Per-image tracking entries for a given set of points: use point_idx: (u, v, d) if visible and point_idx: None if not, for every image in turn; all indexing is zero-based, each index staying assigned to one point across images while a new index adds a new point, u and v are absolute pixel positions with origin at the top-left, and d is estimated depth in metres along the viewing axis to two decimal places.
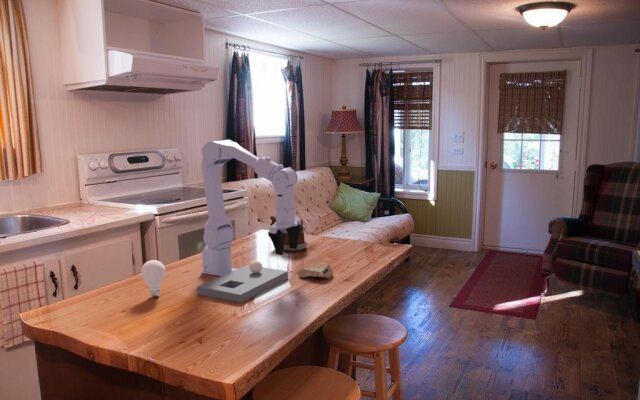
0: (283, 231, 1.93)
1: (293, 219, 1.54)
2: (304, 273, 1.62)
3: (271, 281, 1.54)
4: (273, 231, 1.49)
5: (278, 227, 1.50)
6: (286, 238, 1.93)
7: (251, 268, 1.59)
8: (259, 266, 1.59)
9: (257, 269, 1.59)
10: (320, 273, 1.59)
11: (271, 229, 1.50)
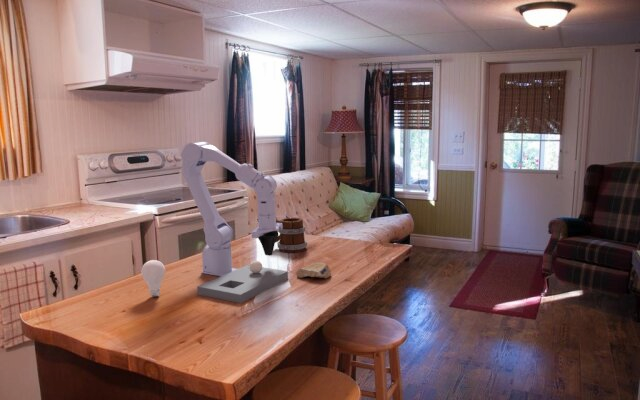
0: (283, 231, 1.93)
1: (274, 224, 1.63)
2: (302, 273, 1.62)
3: (271, 281, 1.54)
4: (255, 236, 1.58)
5: (260, 232, 1.59)
6: (286, 238, 1.93)
7: (251, 268, 1.59)
8: (259, 266, 1.59)
9: (257, 269, 1.59)
10: (318, 273, 1.59)
11: (253, 234, 1.59)
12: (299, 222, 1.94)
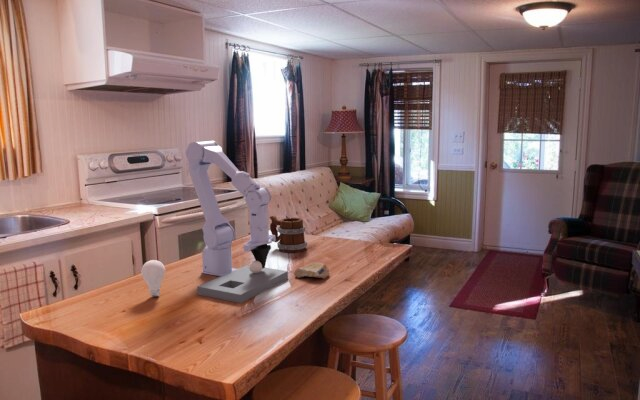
0: (283, 231, 1.93)
1: (267, 237, 1.60)
2: (300, 273, 1.62)
3: (271, 281, 1.54)
4: (247, 249, 1.55)
5: (252, 245, 1.56)
6: (286, 238, 1.93)
7: (251, 268, 1.59)
8: (259, 267, 1.59)
9: (257, 270, 1.59)
10: (315, 273, 1.59)
11: (245, 247, 1.55)
12: (299, 222, 1.94)
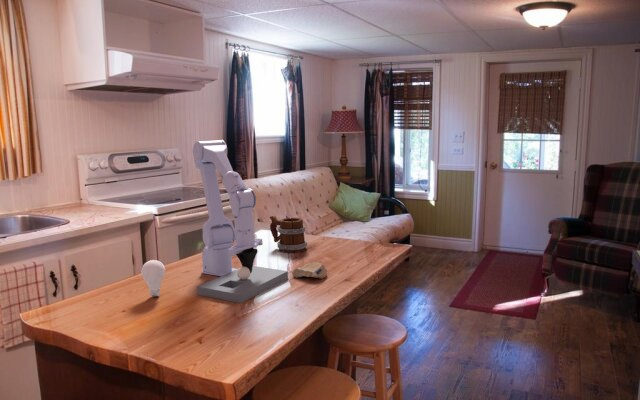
0: (283, 231, 1.93)
1: (253, 240, 1.53)
2: (298, 273, 1.62)
3: (271, 281, 1.54)
4: (232, 253, 1.48)
5: (237, 249, 1.49)
6: (286, 238, 1.93)
7: None
8: None
9: None
10: (313, 273, 1.59)
11: (230, 251, 1.48)
12: (299, 222, 1.94)
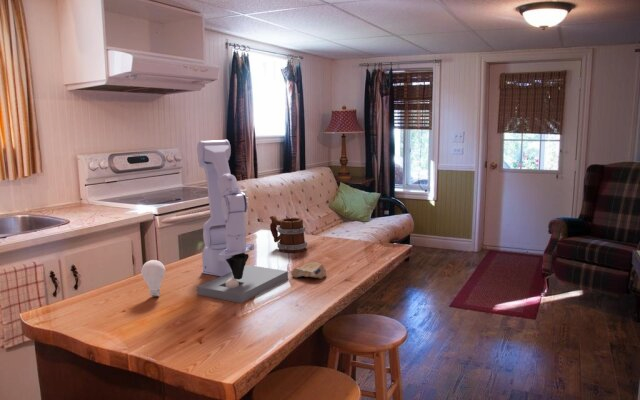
0: (283, 231, 1.93)
1: (244, 246, 1.50)
2: (297, 273, 1.63)
3: (271, 281, 1.54)
4: (222, 259, 1.45)
5: (227, 255, 1.46)
6: (286, 238, 1.93)
7: None
8: (236, 285, 1.50)
9: None
10: (312, 273, 1.59)
11: (220, 257, 1.45)
12: (299, 222, 1.94)
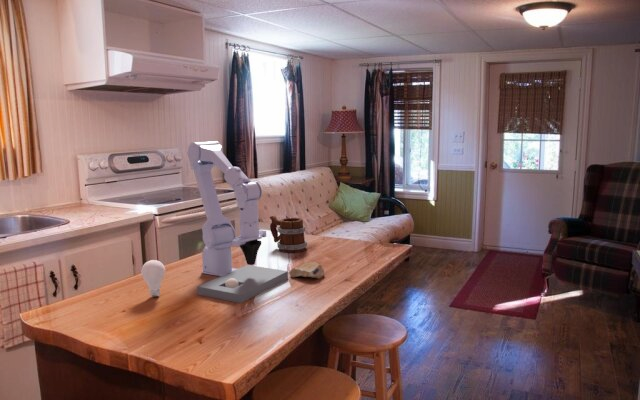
0: (283, 231, 1.93)
1: (257, 232, 1.55)
2: (295, 273, 1.63)
3: (271, 281, 1.54)
4: (236, 245, 1.51)
5: (241, 241, 1.51)
6: (286, 238, 1.93)
7: None
8: (235, 285, 1.50)
9: None
10: (310, 273, 1.59)
11: (234, 243, 1.51)
12: (299, 222, 1.94)
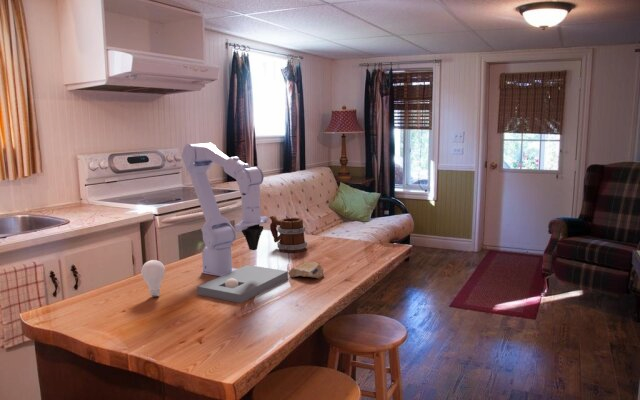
0: (283, 231, 1.93)
1: (259, 217, 1.56)
2: (294, 273, 1.63)
3: (271, 281, 1.54)
4: (238, 229, 1.51)
5: (243, 225, 1.52)
6: (286, 238, 1.93)
7: None
8: (235, 285, 1.50)
9: None
10: (309, 273, 1.59)
11: (236, 227, 1.51)
12: (299, 222, 1.94)
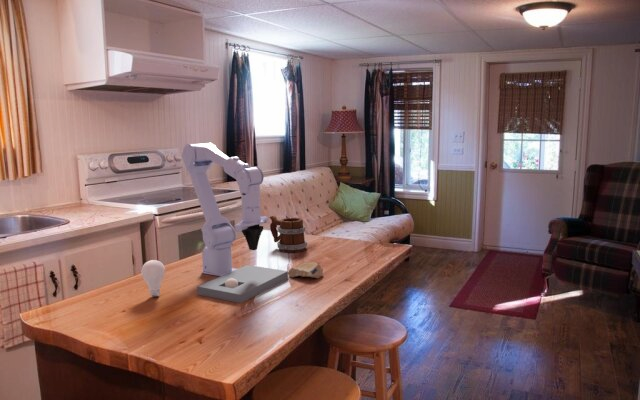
0: (283, 231, 1.93)
1: (259, 217, 1.56)
2: (293, 273, 1.63)
3: (271, 281, 1.54)
4: (238, 229, 1.51)
5: (243, 225, 1.52)
6: (286, 238, 1.93)
7: None
8: (235, 285, 1.50)
9: None
10: (308, 273, 1.59)
11: (236, 227, 1.51)
12: (299, 222, 1.94)
